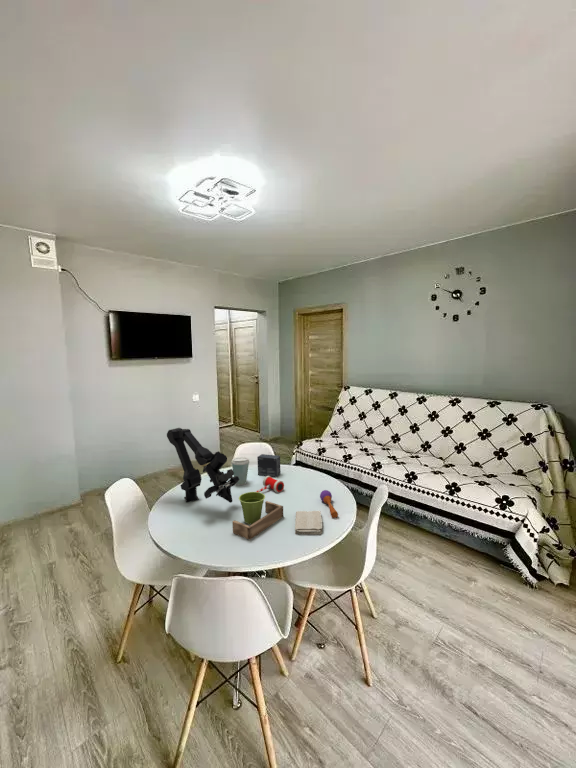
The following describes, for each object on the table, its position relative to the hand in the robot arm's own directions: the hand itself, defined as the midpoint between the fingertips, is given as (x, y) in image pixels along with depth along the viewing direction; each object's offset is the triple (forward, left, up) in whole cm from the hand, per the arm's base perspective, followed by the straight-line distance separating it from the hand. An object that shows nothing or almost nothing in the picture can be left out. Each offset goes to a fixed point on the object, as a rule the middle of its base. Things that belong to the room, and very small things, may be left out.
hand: (231, 501), depth 152 cm
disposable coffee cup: (-34, +16, -6) cm, 38 cm away
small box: (-38, +36, -6) cm, 53 cm away
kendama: (+18, +43, -6) cm, 47 cm away
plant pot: (+11, +6, -6) cm, 14 cm away
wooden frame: (+15, +8, -6) cm, 18 cm away
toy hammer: (-15, +24, -7) cm, 29 cm away
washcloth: (+25, +27, -7) cm, 38 cm away
